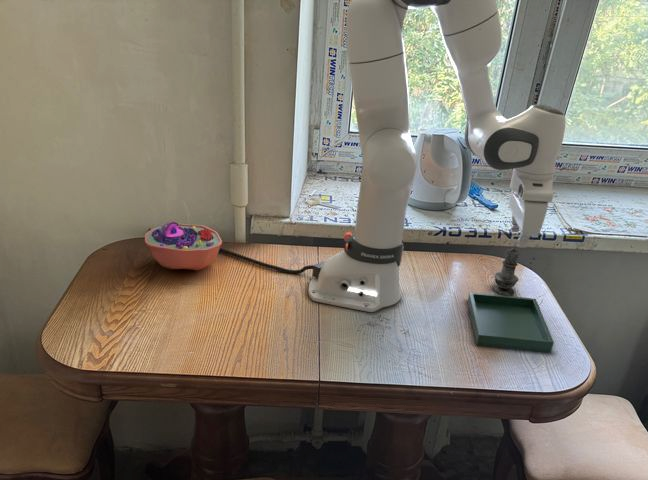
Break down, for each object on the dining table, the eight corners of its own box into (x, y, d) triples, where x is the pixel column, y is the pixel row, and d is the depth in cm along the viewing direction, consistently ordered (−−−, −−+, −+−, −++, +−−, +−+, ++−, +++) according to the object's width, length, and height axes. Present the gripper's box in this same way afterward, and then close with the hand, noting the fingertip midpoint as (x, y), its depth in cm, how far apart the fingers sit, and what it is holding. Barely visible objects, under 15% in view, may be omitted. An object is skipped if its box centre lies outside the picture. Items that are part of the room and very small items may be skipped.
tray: (476, 345, 129) (478, 334, 127) (467, 301, 145) (469, 292, 144) (550, 352, 127) (553, 342, 126) (532, 308, 144) (535, 298, 142)
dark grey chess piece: (516, 297, 148) (528, 252, 142) (491, 293, 149) (502, 249, 142) (514, 286, 153) (525, 242, 146) (490, 283, 154) (501, 239, 147)
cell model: (199, 289, 144) (197, 245, 138) (132, 270, 151) (127, 227, 144) (236, 262, 157) (235, 221, 151) (173, 246, 164) (169, 206, 157)
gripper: (509, 167, 145) (498, 221, 152) (525, 195, 128) (511, 255, 135) (536, 169, 144) (523, 223, 152) (555, 197, 127) (539, 257, 135)
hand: (517, 238), depth 143 cm, fingers open, 8 cm apart
